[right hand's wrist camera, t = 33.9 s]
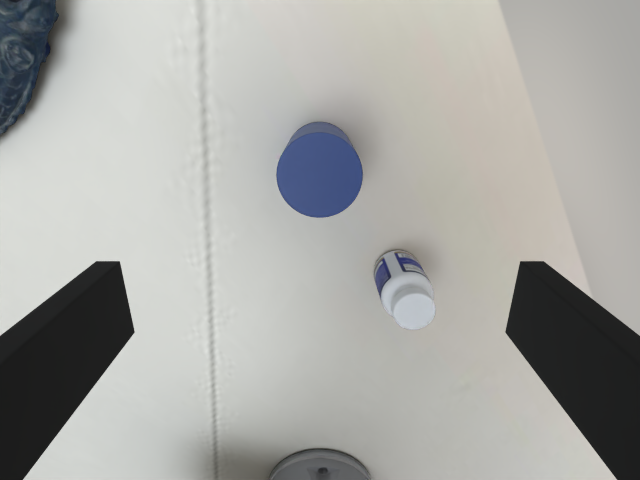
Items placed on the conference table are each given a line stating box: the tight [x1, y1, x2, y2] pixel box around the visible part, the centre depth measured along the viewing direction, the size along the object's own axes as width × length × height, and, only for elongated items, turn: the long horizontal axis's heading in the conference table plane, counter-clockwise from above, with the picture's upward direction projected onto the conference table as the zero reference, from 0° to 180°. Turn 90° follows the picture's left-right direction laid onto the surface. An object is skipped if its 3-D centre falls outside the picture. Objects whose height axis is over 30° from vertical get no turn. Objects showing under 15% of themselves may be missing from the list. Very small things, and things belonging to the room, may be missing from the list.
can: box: [277, 122, 363, 218], centre depth 35 cm, size 7×7×10 cm
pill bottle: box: [374, 250, 436, 330], centre depth 40 cm, size 5×5×9 cm
